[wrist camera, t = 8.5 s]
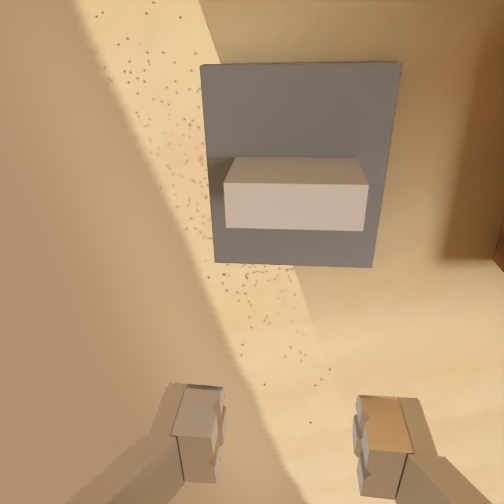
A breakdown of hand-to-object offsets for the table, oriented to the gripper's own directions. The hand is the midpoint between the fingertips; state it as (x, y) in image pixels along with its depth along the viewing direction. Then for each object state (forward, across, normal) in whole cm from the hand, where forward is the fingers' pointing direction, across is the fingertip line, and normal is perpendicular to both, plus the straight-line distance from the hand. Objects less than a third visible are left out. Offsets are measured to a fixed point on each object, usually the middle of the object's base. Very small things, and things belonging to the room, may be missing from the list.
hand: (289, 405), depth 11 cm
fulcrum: (+20, 0, 0) cm, 20 cm away
